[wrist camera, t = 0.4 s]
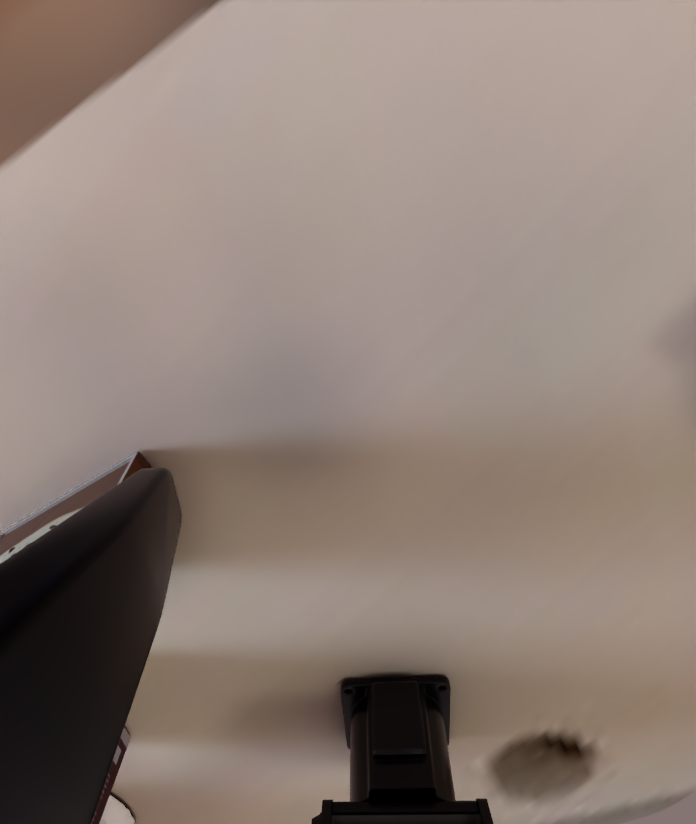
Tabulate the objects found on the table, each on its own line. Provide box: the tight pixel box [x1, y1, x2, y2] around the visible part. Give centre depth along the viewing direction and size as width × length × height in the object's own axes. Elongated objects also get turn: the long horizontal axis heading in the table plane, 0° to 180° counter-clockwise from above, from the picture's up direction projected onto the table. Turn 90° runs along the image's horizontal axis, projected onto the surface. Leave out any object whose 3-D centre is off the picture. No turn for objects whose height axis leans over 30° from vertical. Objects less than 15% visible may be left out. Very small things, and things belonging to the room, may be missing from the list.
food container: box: [0, 452, 151, 564], centre depth 24 cm, size 12×6×10 cm, turn 122°
